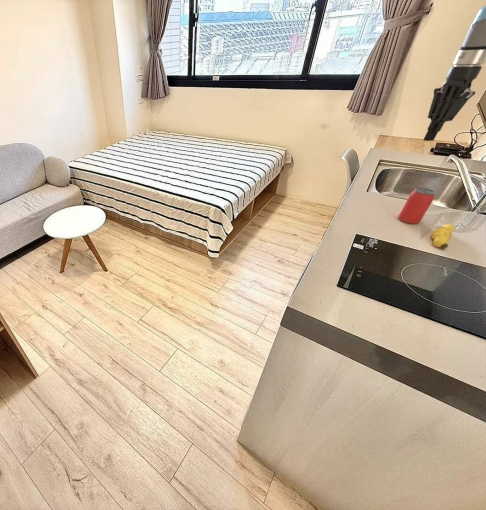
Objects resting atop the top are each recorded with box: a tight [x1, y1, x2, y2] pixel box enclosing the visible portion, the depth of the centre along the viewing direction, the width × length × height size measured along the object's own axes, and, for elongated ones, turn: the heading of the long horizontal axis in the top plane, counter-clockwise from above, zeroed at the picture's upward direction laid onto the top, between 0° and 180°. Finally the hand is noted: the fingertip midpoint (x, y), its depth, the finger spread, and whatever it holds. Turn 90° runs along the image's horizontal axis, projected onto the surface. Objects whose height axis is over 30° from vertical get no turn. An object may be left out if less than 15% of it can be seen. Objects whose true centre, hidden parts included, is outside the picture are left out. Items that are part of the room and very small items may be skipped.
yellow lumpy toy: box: [431, 223, 455, 249], centre depth 94 cm, size 15×5×4 cm, turn 131°
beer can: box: [398, 187, 436, 225], centre depth 102 cm, size 7×7×12 cm
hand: (428, 140), depth 105 cm, fingers closed
